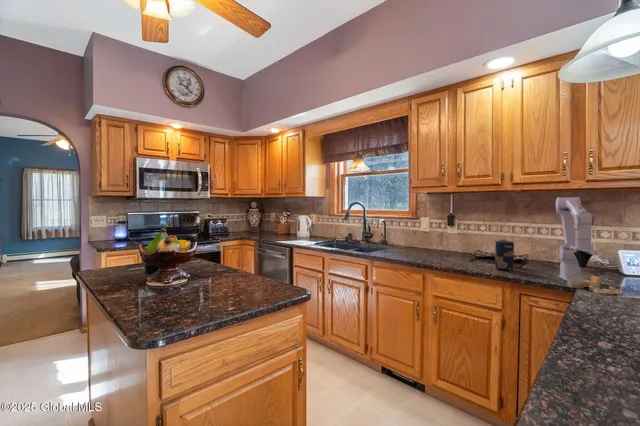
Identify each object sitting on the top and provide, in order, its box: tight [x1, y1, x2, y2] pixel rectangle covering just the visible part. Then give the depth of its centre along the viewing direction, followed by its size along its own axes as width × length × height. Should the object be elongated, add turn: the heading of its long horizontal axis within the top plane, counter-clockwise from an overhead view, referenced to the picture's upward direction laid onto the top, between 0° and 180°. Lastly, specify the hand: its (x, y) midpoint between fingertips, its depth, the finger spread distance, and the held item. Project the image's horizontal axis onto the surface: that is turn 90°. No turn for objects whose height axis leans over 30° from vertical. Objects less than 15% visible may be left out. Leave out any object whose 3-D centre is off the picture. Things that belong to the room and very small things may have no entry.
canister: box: [494, 239, 515, 271], centre depth 184 cm, size 10×10×18 cm
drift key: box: [584, 275, 601, 289], centre depth 146 cm, size 4×6×5 cm
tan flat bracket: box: [588, 285, 621, 295], centre depth 138 cm, size 6×8×2 cm
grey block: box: [566, 275, 585, 289], centre depth 147 cm, size 4×5×5 cm
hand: (582, 267), depth 146 cm, fingers closed
